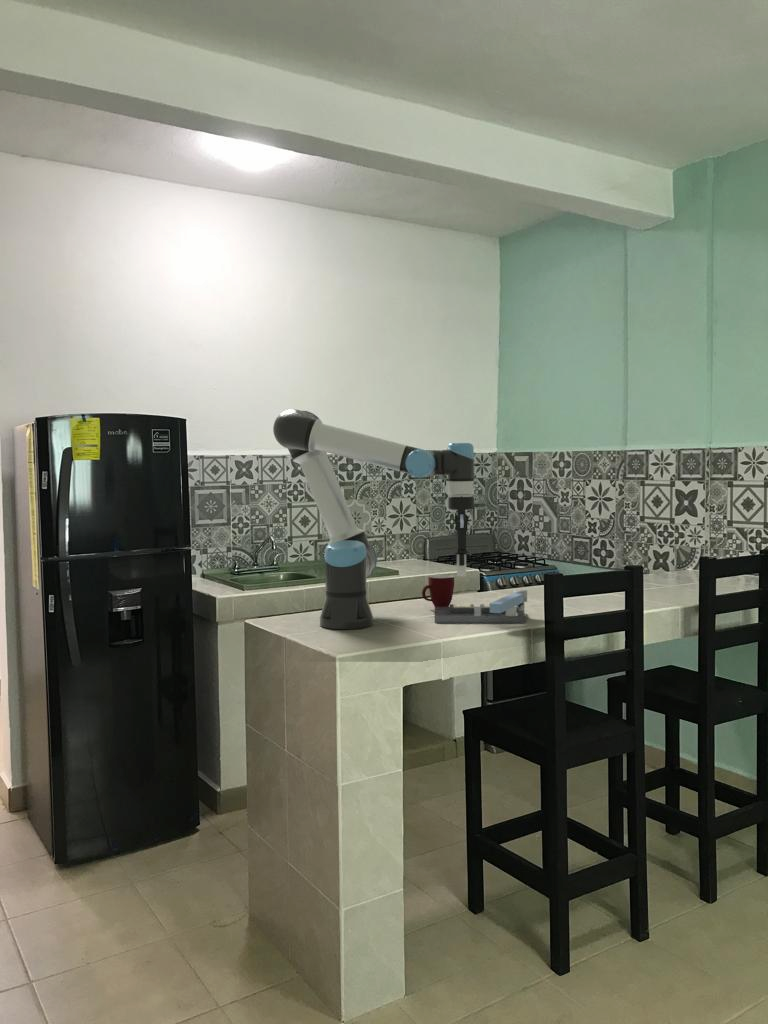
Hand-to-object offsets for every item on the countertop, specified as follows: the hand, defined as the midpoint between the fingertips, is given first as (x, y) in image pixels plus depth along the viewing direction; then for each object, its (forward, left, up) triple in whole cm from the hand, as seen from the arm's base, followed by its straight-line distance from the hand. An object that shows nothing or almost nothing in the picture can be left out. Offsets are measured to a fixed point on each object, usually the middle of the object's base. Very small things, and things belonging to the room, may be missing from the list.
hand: (461, 576), depth 246 cm
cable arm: (+13, -9, -7) cm, 17 cm away
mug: (-7, +16, -13) cm, 22 cm away
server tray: (+5, 0, -12) cm, 13 cm away
